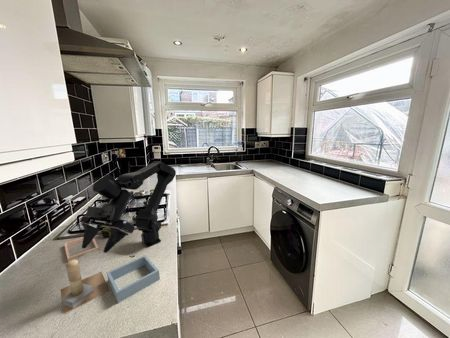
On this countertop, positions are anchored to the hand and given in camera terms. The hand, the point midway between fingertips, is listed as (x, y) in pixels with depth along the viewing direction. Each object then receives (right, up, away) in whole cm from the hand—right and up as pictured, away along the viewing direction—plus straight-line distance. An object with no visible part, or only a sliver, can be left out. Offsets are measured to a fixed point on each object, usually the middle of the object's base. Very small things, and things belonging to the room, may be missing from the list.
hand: (93, 250), depth 61 cm
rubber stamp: (-2, -13, -4) cm, 13 cm away
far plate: (-2, -13, -1) cm, 13 cm away
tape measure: (-16, -7, +35) cm, 39 cm away
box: (+12, -12, +3) cm, 17 cm away
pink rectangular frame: (-22, -9, +24) cm, 33 cm away
